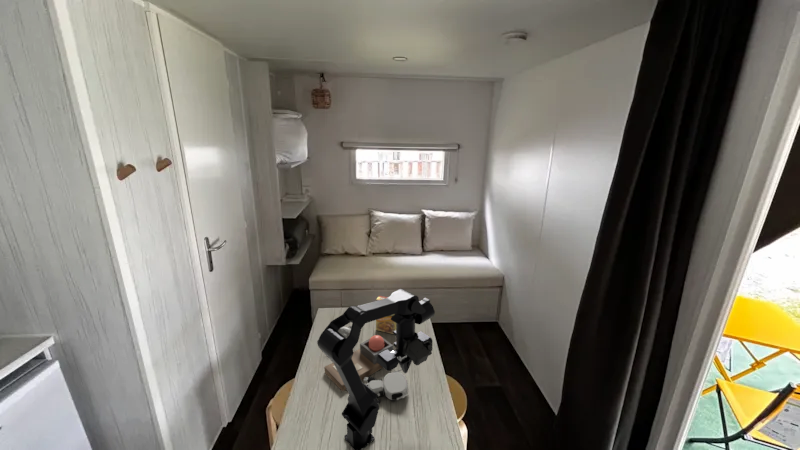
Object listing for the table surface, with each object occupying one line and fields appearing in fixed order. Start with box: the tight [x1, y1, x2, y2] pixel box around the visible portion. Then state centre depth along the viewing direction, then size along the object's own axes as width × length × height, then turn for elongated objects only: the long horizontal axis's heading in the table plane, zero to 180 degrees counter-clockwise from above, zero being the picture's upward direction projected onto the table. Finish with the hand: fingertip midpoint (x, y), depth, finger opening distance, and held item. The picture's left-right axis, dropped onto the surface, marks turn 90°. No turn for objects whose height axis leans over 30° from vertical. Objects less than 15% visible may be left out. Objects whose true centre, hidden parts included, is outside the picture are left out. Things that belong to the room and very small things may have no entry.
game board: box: [323, 334, 394, 392], centre depth 125 cm, size 24×12×6 cm, turn 132°
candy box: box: [375, 295, 396, 335], centre depth 146 cm, size 9×4×15 cm, turn 70°
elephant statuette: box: [338, 325, 352, 338], centre depth 139 cm, size 9×12×8 cm
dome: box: [369, 334, 385, 353], centre depth 128 cm, size 6×6×6 cm
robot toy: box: [363, 369, 410, 401], centre depth 114 cm, size 12×4×15 cm
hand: (405, 372), depth 107 cm, fingers closed
